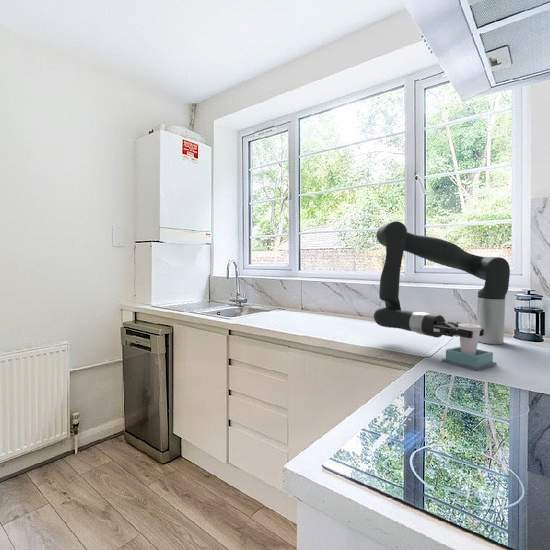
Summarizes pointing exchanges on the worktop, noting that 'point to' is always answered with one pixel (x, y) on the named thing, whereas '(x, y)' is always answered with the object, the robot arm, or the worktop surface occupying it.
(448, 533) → the worktop surface
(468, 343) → the smoothie
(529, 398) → the worktop surface
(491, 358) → the tray
